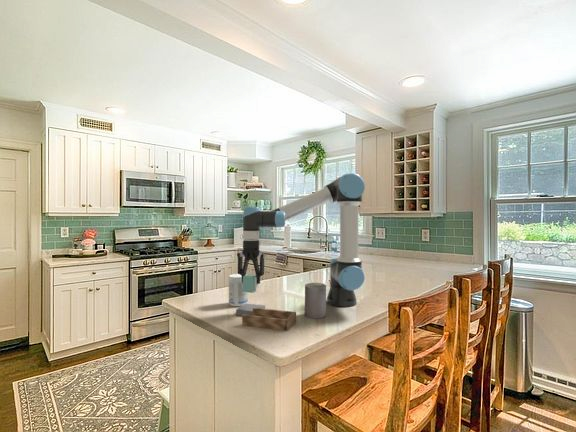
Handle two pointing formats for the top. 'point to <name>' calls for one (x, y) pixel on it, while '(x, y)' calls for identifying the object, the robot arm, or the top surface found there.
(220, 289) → the top surface
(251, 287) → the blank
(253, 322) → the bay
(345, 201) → the robot arm
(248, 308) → the trivet
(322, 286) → the pillar candle
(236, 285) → the supplement tub
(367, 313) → the top surface
